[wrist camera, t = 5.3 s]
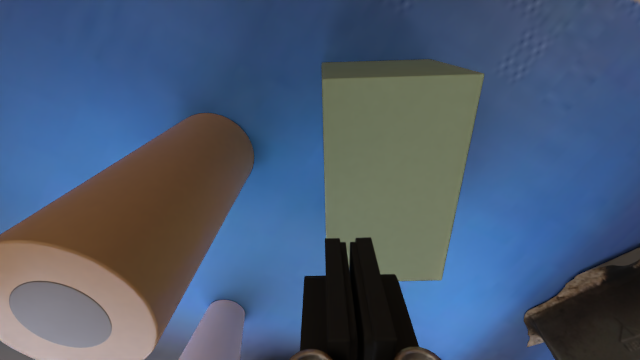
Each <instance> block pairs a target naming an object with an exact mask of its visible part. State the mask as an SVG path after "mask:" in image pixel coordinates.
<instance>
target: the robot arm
mask: <svg viewBox="0 0 640 360" xmlns="http://www.w3.org/2000/svg"><path fill="white" fill-rule="evenodd" d="M325 259H326V276H305V278H304V292H303V309H302V327H301V344H300V352H298V353H296V354H295V355H293V356H292V357H291V358H290V360H441V359H440V358H439V357H438V356H437V355H436V354H434V353H433V352H431V351H429V350H427V349H424V348H421V347H419V345H418V342H417V339H416V336H415V333H414V330H413V326H412V323H411V320H410V317H409V314H408V311H407V307H406V304H405V301H404V298H403V295H402V292H401V288H400V285H399V282H398V279H397V277H396V275H395V274H380V271H379V267H378V263H377V259H376V255H375V251H374V247H373V243H372V239H371V237H363V238H356V239H355V242H350V262H349V264H348V256H347V248H346V242H340V238H325Z"/></svg>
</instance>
